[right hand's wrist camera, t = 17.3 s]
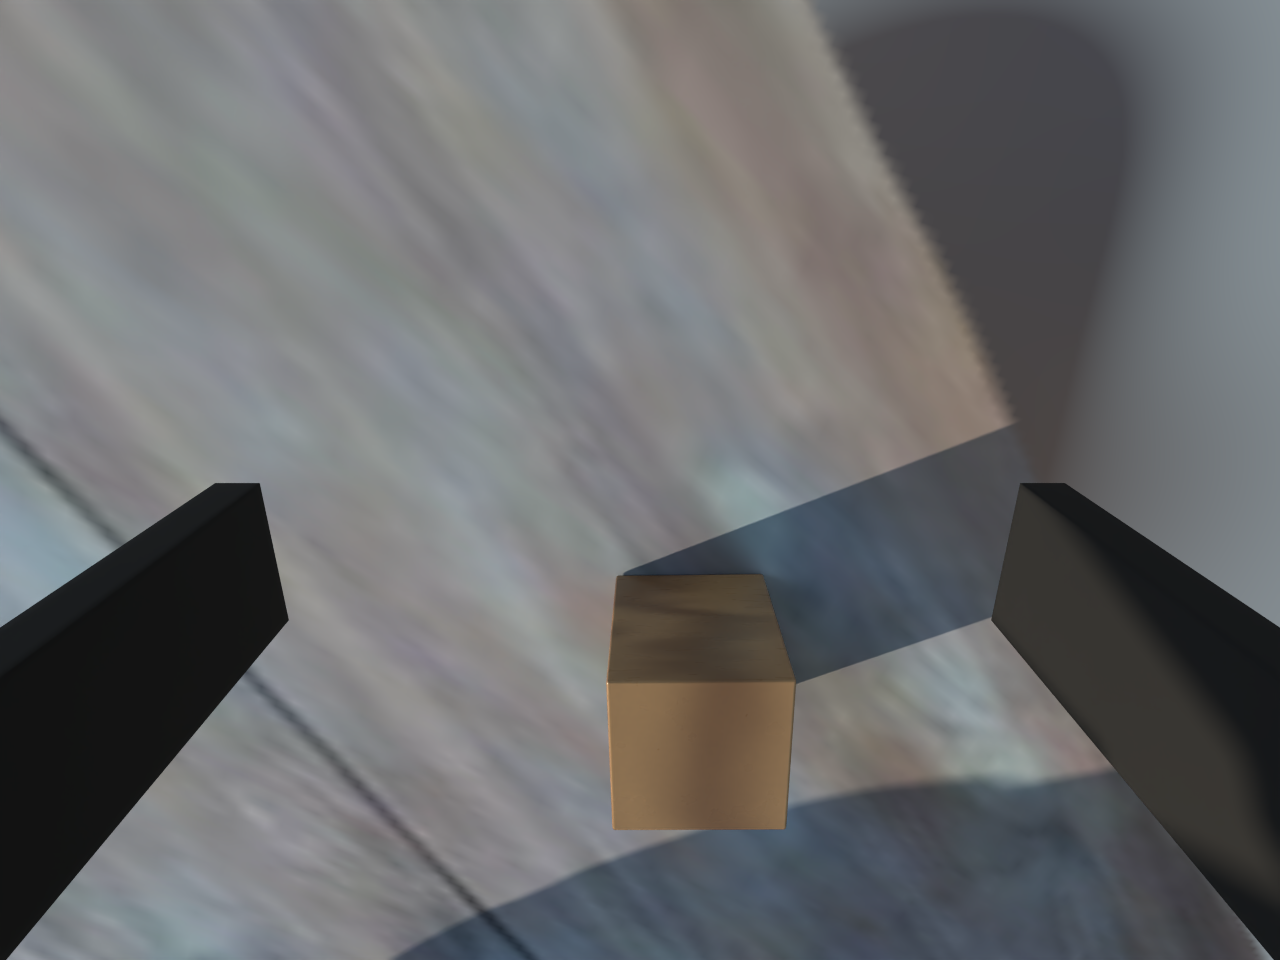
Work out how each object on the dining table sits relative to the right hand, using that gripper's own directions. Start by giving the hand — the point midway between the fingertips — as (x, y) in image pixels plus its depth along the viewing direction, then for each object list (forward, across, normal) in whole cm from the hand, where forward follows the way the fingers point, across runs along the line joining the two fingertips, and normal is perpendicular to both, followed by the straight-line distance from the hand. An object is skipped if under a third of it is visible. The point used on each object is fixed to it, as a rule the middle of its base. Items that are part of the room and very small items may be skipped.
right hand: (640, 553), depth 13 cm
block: (+14, +2, -12) cm, 18 cm away
